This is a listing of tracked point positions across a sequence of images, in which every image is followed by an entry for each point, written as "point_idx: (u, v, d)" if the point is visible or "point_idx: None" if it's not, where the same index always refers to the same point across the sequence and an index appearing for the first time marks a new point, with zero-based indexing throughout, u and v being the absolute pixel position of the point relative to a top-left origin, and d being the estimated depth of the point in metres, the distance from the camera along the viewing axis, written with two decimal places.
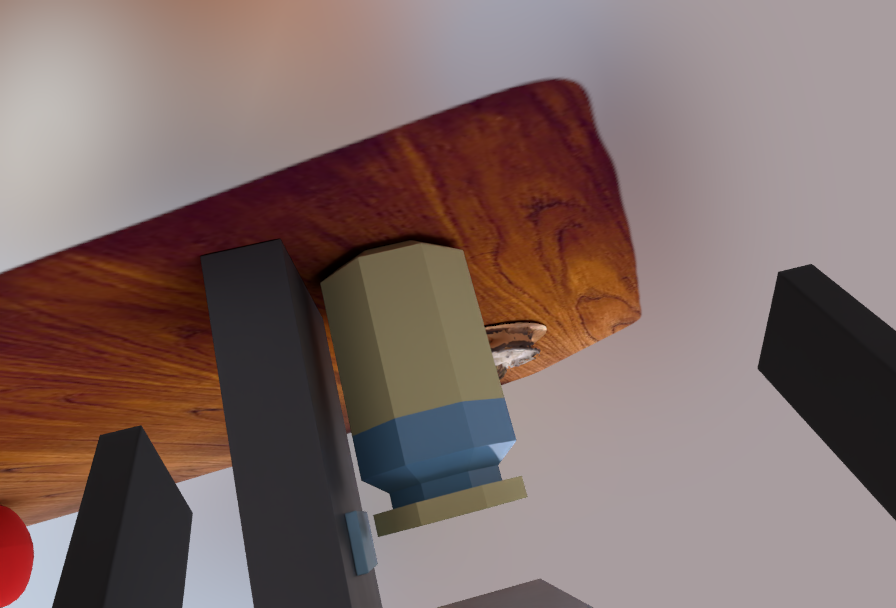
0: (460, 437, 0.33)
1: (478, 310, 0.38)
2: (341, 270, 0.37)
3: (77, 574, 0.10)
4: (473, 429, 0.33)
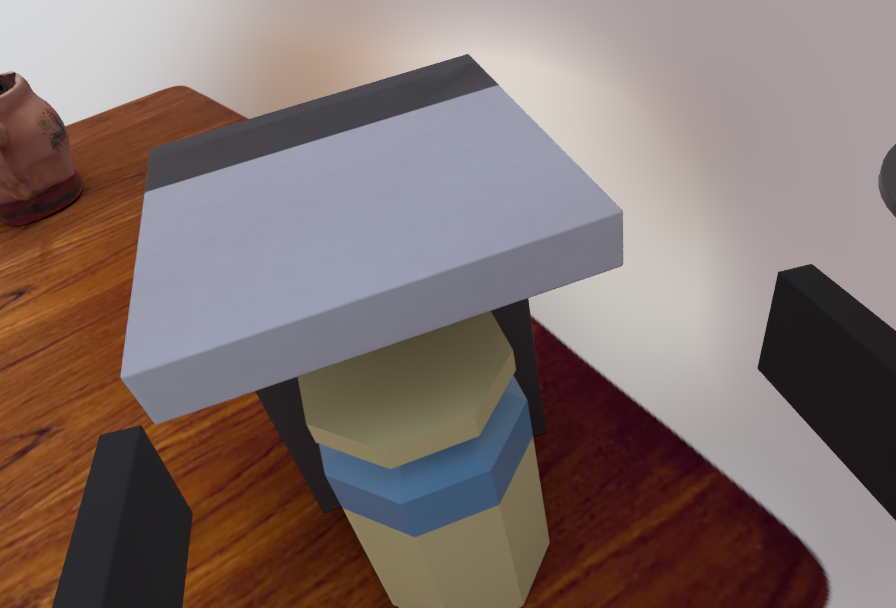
0: None
1: (515, 565, 0.29)
2: None
3: (77, 574, 0.10)
4: (526, 419, 0.27)
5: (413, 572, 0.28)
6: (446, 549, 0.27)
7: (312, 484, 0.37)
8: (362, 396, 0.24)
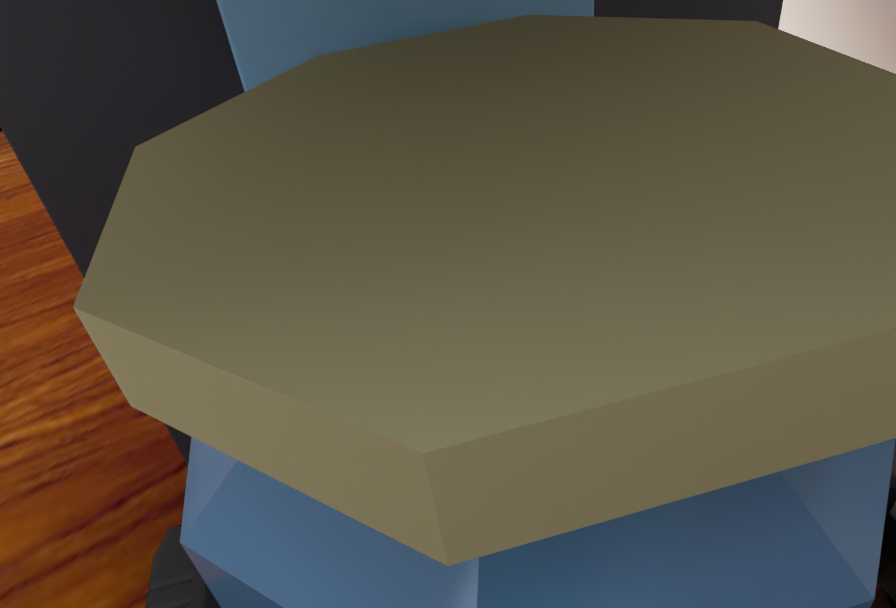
0: None
1: None
2: None
3: None
4: None
5: None
6: None
7: None
8: (343, 224, 0.06)
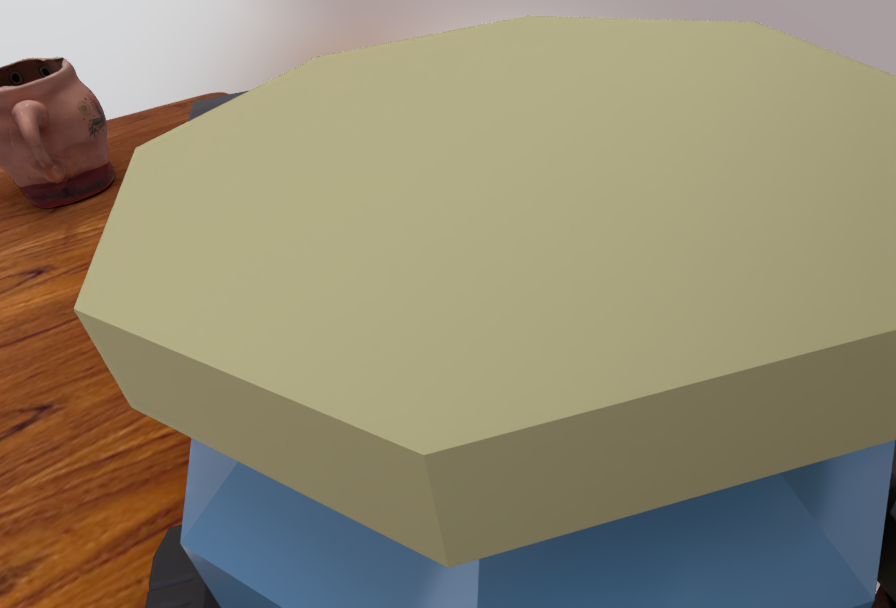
0: None
1: None
2: None
3: None
4: None
5: None
6: None
7: None
8: (343, 225, 0.06)
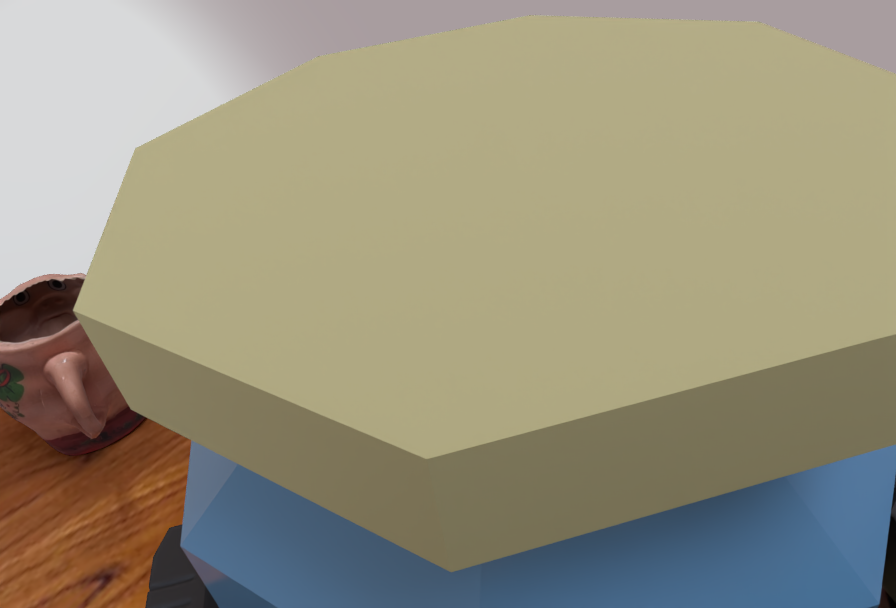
0: None
1: None
2: None
3: None
4: None
5: None
6: None
7: None
8: (345, 227, 0.06)
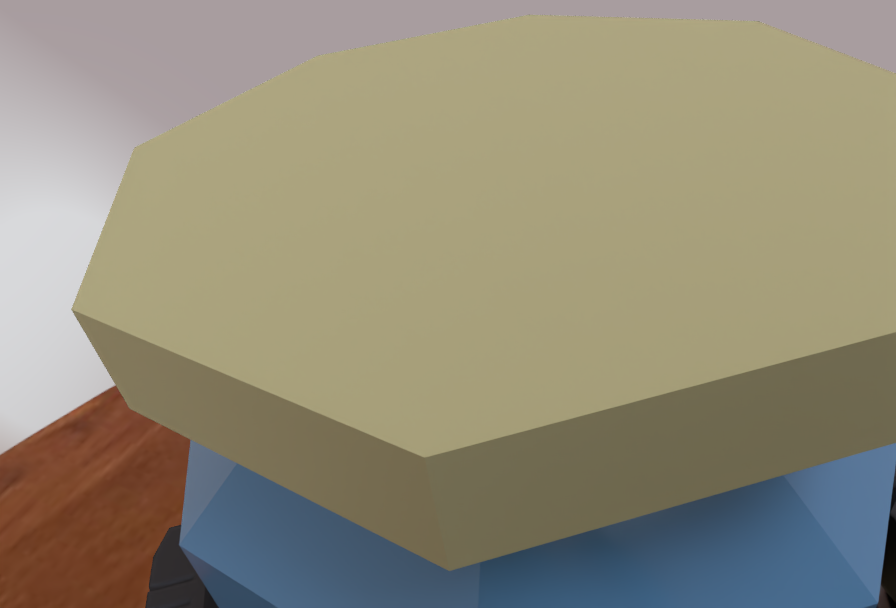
0: None
1: None
2: None
3: None
4: None
5: None
6: None
7: None
8: (343, 225, 0.06)
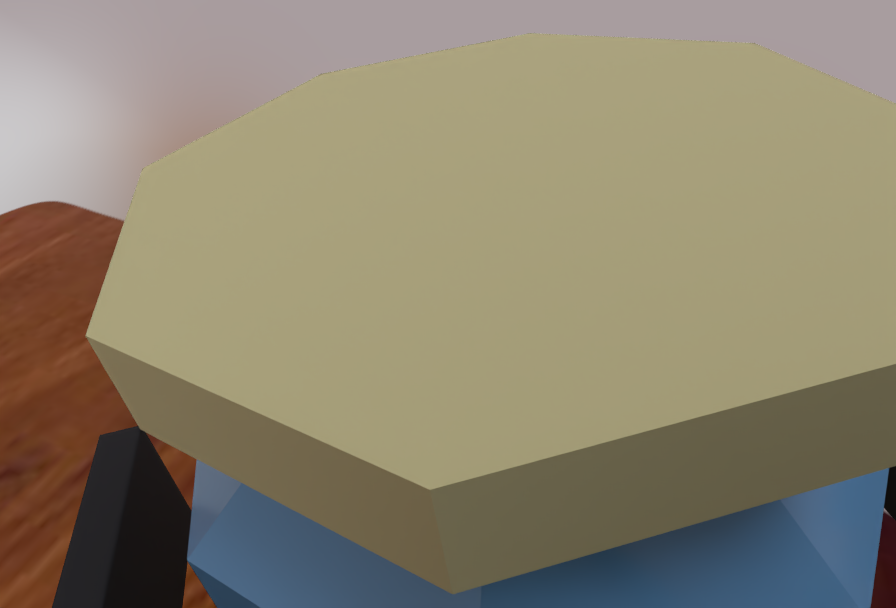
0: None
1: None
2: None
3: (77, 574, 0.10)
4: None
5: None
6: None
7: None
8: (349, 252, 0.06)
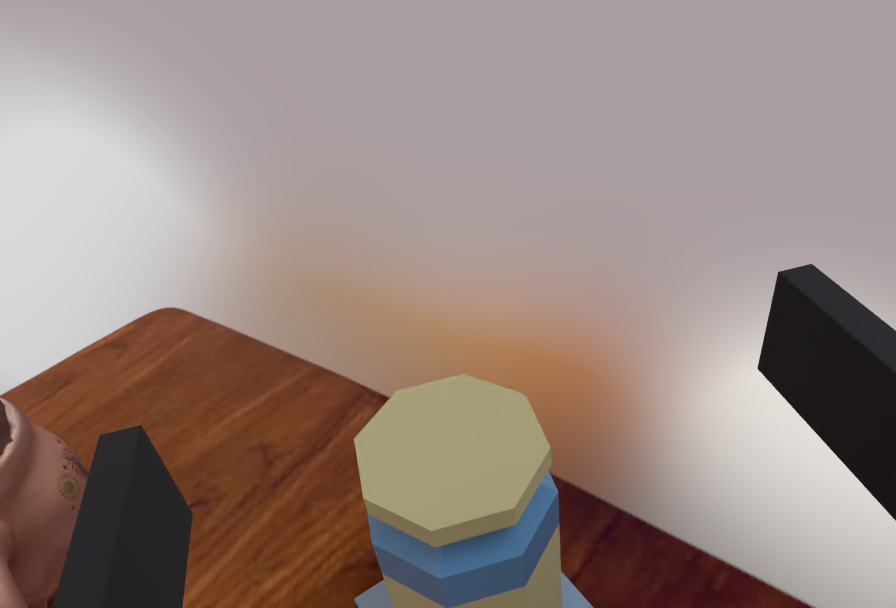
0: None
1: None
2: None
3: (77, 574, 0.10)
4: (555, 508, 0.30)
5: None
6: None
7: None
8: (414, 477, 0.27)
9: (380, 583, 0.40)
